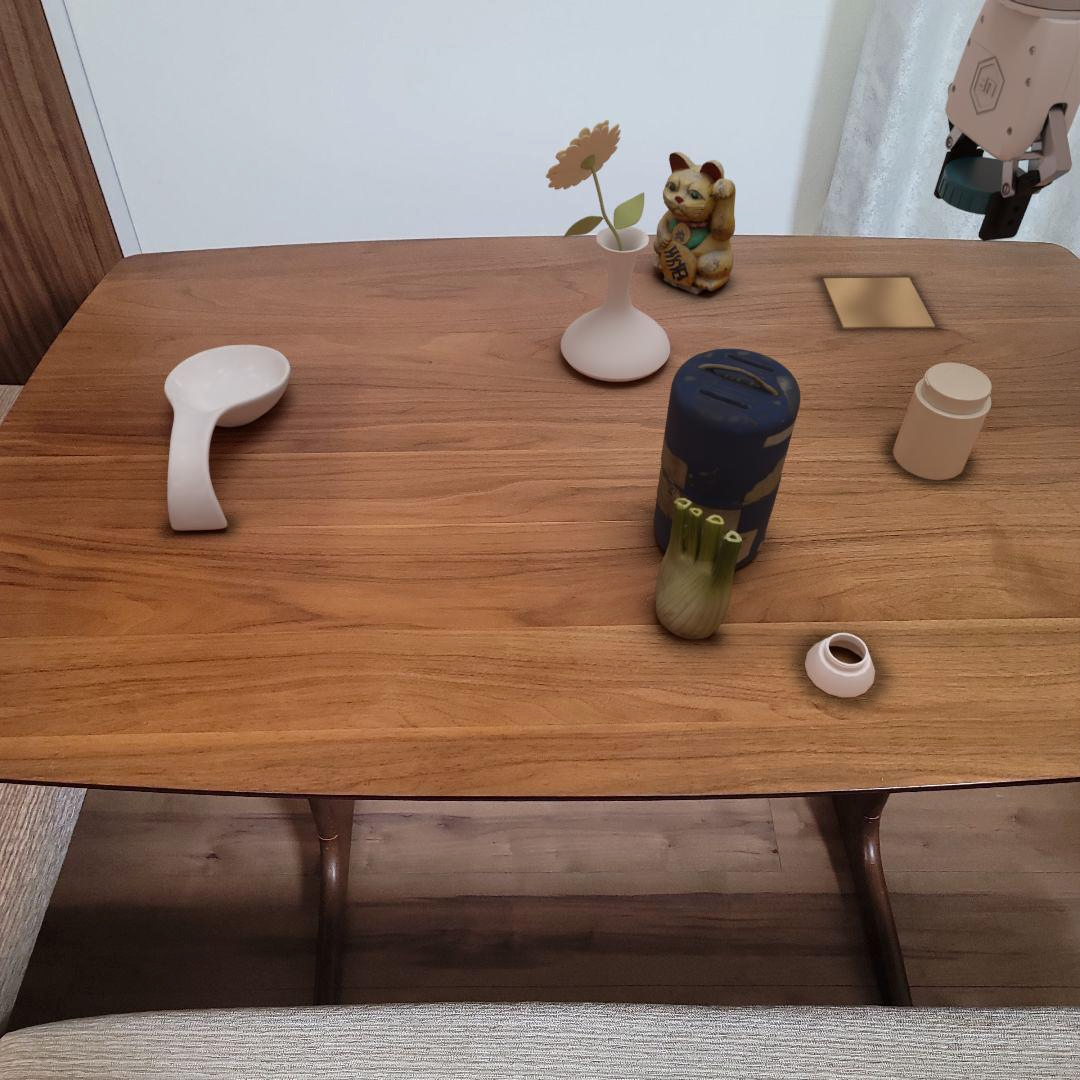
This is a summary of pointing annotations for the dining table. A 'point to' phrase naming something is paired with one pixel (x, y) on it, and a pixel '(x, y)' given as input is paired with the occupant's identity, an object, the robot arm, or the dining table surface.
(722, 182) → the decorative figurine
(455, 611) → the dining table surface
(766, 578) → the dining table surface
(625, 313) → the flower in vase
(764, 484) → the canister
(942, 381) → the jar
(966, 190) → the lid
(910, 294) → the coaster
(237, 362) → the spoon rest
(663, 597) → the fennel bulb
